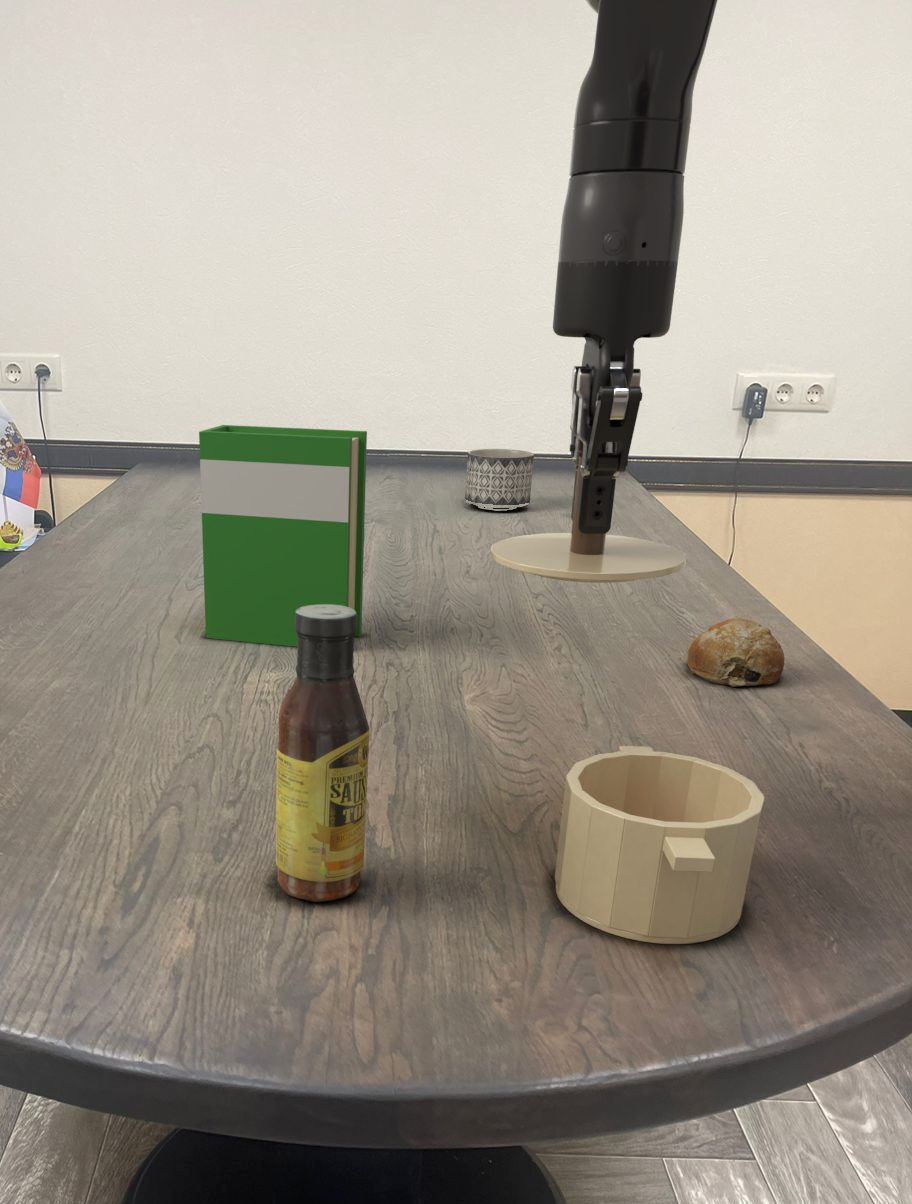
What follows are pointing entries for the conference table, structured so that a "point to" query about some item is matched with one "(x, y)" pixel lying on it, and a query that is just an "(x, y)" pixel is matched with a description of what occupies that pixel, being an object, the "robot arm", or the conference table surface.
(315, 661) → the sauce bottle
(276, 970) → the conference table surface
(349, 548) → the hardback book
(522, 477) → the planter
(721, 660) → the bread roll
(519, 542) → the lid
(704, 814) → the pot
